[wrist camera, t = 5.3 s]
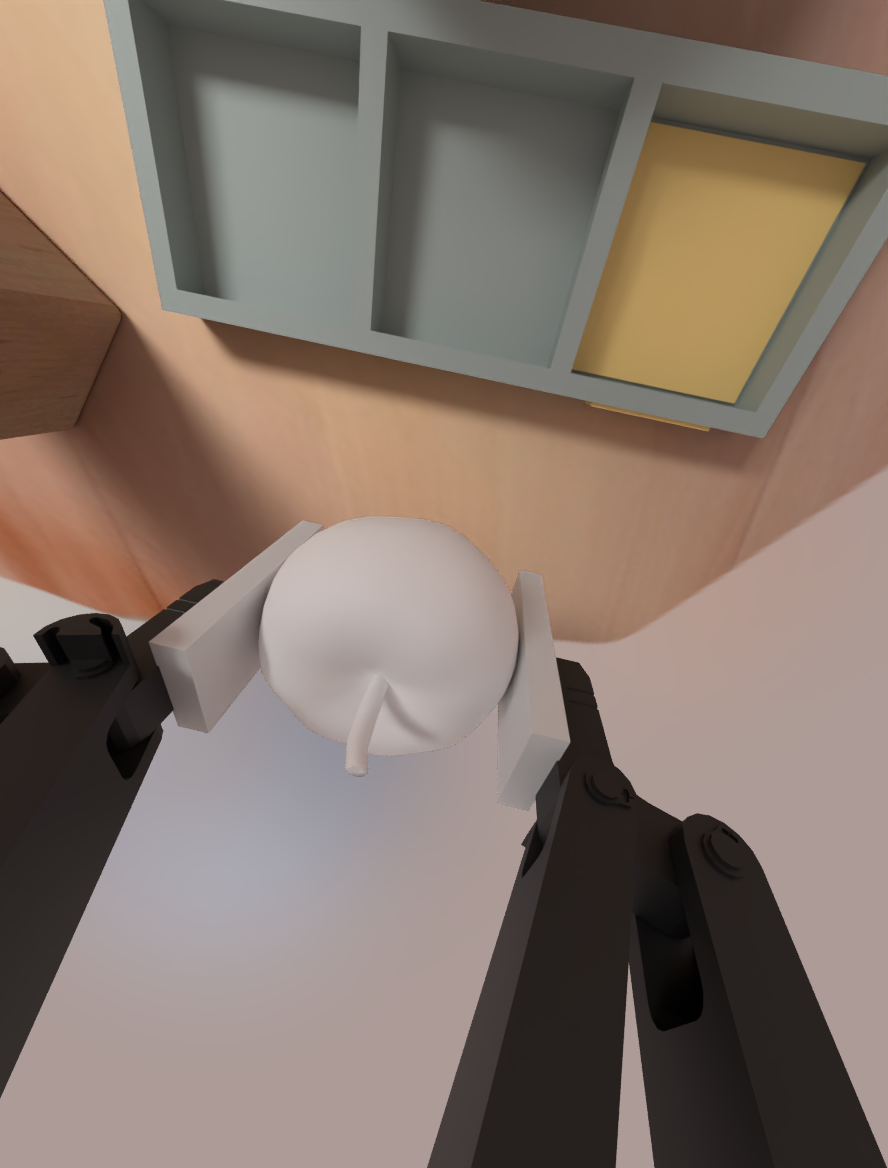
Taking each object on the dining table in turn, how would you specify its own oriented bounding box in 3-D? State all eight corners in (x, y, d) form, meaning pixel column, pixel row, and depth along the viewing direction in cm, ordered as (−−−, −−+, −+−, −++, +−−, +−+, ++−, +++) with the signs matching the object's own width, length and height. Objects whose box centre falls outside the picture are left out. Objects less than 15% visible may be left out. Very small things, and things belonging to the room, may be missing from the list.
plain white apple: (555, 584, 13) (612, 827, 6) (418, 668, 16) (358, 889, 9) (418, 427, 11) (282, 541, 4) (290, 559, 14) (96, 747, 7)
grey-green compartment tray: (150, -8, 15) (89, -72, 13) (904, 134, 14) (977, 92, 12) (199, 319, 21) (163, 314, 19) (732, 434, 20) (760, 442, 18)
